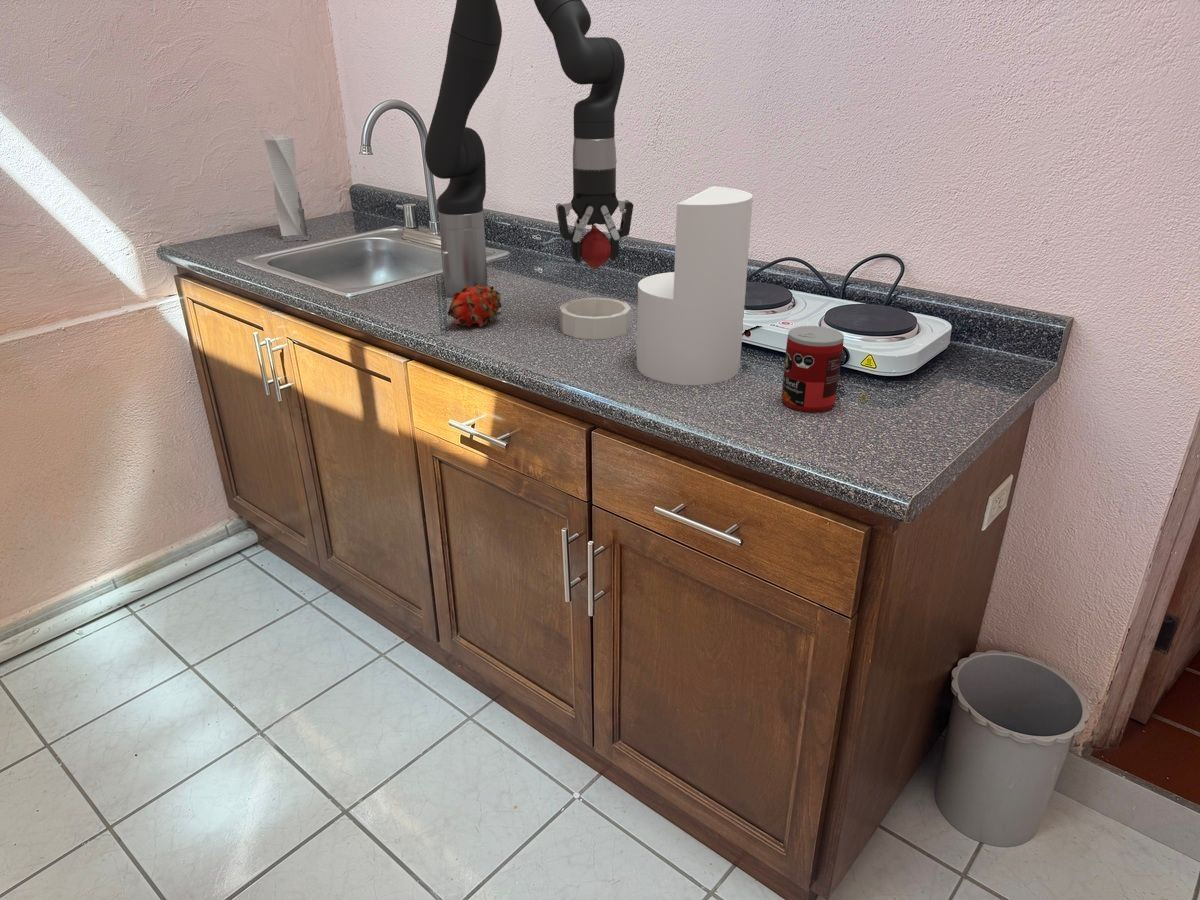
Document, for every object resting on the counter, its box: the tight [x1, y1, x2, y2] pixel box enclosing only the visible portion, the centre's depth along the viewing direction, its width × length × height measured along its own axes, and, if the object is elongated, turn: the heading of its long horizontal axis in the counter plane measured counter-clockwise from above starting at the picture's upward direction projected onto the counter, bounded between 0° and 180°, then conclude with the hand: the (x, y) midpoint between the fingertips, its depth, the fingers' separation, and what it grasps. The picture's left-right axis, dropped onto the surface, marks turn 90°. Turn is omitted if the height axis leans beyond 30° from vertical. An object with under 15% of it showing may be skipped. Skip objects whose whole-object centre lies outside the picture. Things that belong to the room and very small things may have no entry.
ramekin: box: [559, 297, 632, 341], centre depth 159 cm, size 13×13×4 cm
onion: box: [579, 224, 611, 270], centre depth 153 cm, size 6×6×8 cm
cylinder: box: [636, 185, 754, 386], centre depth 135 cm, size 17×17×28 cm
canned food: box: [781, 325, 845, 413], centre depth 125 cm, size 8×8×11 cm
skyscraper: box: [259, 128, 309, 237], centre depth 224 cm, size 8×8×28 cm
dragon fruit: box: [447, 283, 503, 328], centre depth 160 cm, size 8×8×12 cm
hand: (595, 260), depth 154 cm, fingers closed on onion, 6 cm apart
